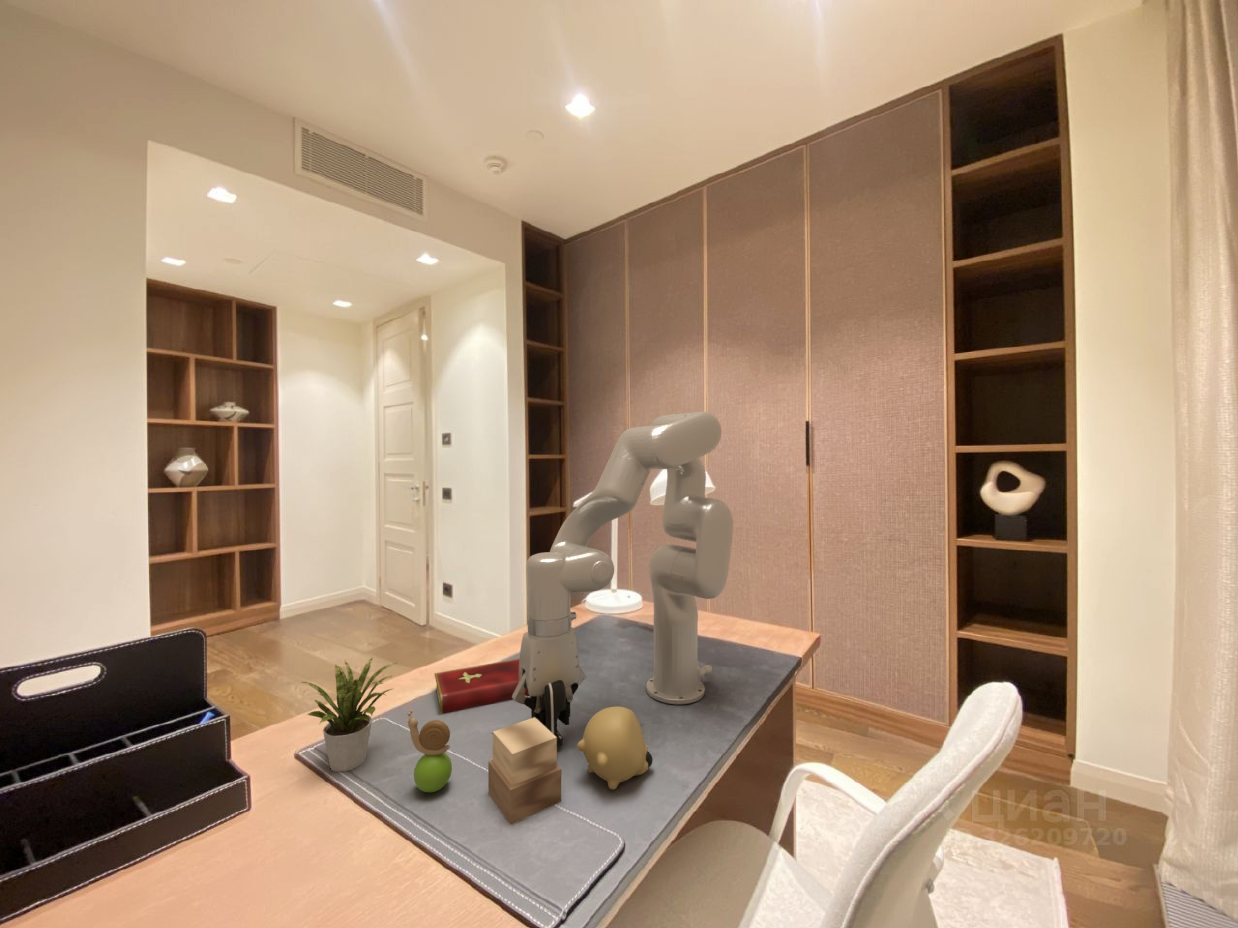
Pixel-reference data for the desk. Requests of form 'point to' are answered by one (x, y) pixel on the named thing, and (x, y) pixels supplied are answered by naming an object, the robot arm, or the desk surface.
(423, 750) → the snail figurine
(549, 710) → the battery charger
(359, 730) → the house plant
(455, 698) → the hardcover book
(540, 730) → the oak block
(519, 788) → the walnut block
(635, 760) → the toy pig
